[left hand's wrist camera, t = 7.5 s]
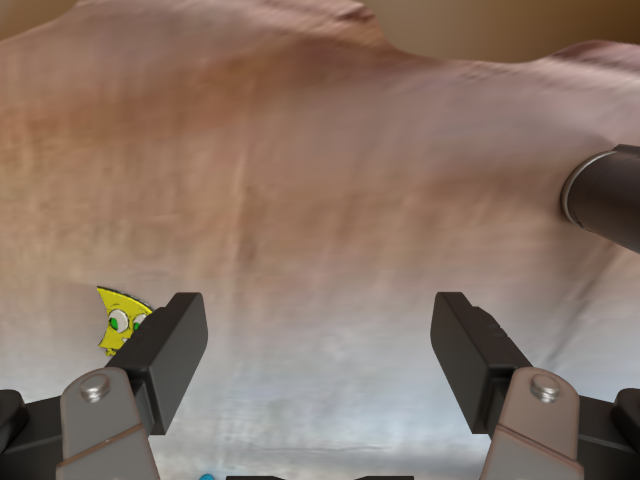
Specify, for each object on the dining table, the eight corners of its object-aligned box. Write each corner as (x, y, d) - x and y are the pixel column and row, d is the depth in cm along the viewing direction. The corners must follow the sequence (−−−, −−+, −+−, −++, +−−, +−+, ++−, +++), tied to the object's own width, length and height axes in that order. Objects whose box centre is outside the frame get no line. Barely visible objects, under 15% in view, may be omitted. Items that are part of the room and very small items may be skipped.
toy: (93, 375, 49) (93, 289, 44) (97, 371, 50) (97, 285, 45) (163, 388, 50) (171, 305, 45) (166, 384, 51) (174, 301, 46)
